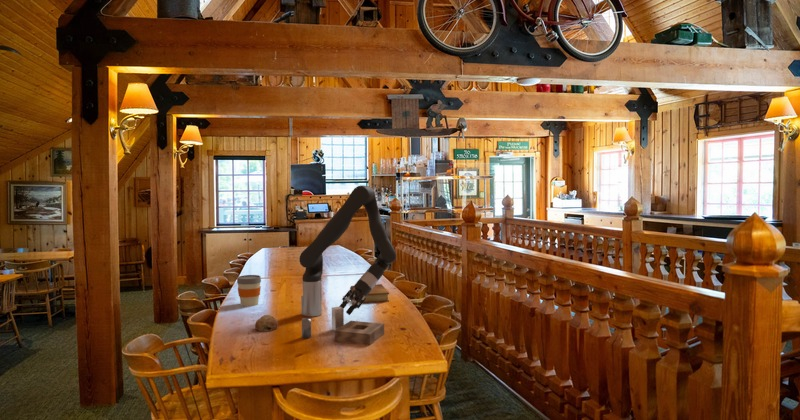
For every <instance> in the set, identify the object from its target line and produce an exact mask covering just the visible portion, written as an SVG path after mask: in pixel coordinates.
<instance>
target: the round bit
mask: <svg viewBox="0 0 800 420" xmlns="http://www.w3.org/2000/svg"><path fill="white" fill-rule="evenodd" d="M301 338H302V339H304V340H306V339H311V338H312V317H303V318H301Z"/></svg>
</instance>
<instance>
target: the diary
mask: <svg viewBox="0 0 800 420" xmlns="http://www.w3.org/2000/svg"><path fill="white" fill-rule="evenodd" d="M349 290H352V291H354V290H355V288H354V285H350V286H349ZM388 295H390V292H389V291H388V290H387V288H385V287H384V285H383V284H382V283H381V284H379V283H378V284H377V283H376V285H375V286H374V287H373V289H372V290H371V291H370V292H369V294H368V295H367V296H365V297H366V299H365V301H364V302H363V303H362V304H368V303H369V304H371V303H372V304H373V303H389V302H390V299H389V296H388Z"/></svg>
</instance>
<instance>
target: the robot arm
mask: <svg viewBox="0 0 800 420" xmlns="http://www.w3.org/2000/svg"><path fill="white" fill-rule="evenodd" d="M377 201H378V200H377V196H376V192H375V189H374V188H372V187H371V186H370V185H369V186H368V185H357V186H356V187H354V188H353V190H352V191H351V192H350V194H349V196H348V197H347V199H346V200H345V202H344V203H343V204H342V206H341V207H339V209H338V210H337V211H336V213H334V214H333V216H332V217H331V218H330V219H329V221H328V222H327V223H326V224H325V226H324V227H323V228H322V229H321V231H320V232H319V233H318V235H317V236H316V237H315V238H314V240H313V241H312V242H311V243H310V244H309V245H308V246H307V247H306V248H305V249H304V250H302V251H301V253H300V255H299V260H298V262H299V264H300V265H301V267H303V268H305V271H304V273H303V275H302V295H301V296H300V298H301V299H300V300H301V301H300V302H301V303H300V304H301V306H300V308H301V310H300V311H301V312H300V313H301V316H305V317H318V316H321V315H322V314H323V312H322V311H323V305H322V300H323V299H322V297H323V295H322V276H323V272H324V271H323V270H324V269H323V267H324V266H323V265H324V259H323V258H324V257H323V253H324V252H325V251H326V250H327V249H328V248H329V247H331V246H332V245H333V244H334V243H336V242H337V241H338V240H339V239H340V238H341V237H342V236H343V235H344V233H346V231H347V230H348V228H349V227H350V225H351V222H352V219H353V217H354V215H355V214H356V213H357V212H358V211H359V210H360V209H361V208H362V207H363V208H364V210H365V212H366V215H367V218H368V227H369V232H370V234H371V238H372V240H373V242H374V244H375V247H377V248H378V250H379V254H378V256H377V257H376V258H375V260H374V262H372V264H371V265H370V266H369V267H368V268H367V270H366V271H365V272H364V273H363V274H362V275H361V276H360V277H359V279H358V280H357V281H356V282H355V284H354V285H353V286H354V288H355V290H354V291H352V290H350V289H349V290H348V291H347V292H346V294H345V295H344V296H343V297H342V299H341V300H342V302H341V303H340V305H339V306H338V307H342V308H344V309H345V308H346V307H347V305H349V304H350V303H351V305H350V306H349V308H348V309H347V310H346V311H345V314H347V315H349V316H350V315H351V314H353V311H355V309H356V310H357V309H360V308H361V306H362V305H363V304H364V303H363V302H364V301H365V299H366V297H365V296H367V295H368V294H369V292H370V291H371V290H372V289H373V287H374V286H375V285H376V284H377V283H378V281H379V280H380V279H381V278H382V276H383V275H384V274H385V271H386V270H387V268H388V267H389V266H390V265H391V264H393V263H394V262H395V261H396V260H397V259H396V258H397V252H396V250H395V248H394V245H393V244H392V242H391V240H390V239H389V236H388V234H387V231H386V228H385V225H384V223H383V220H382V216H381V213H380V209H379V206H378V202H377Z"/></svg>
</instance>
